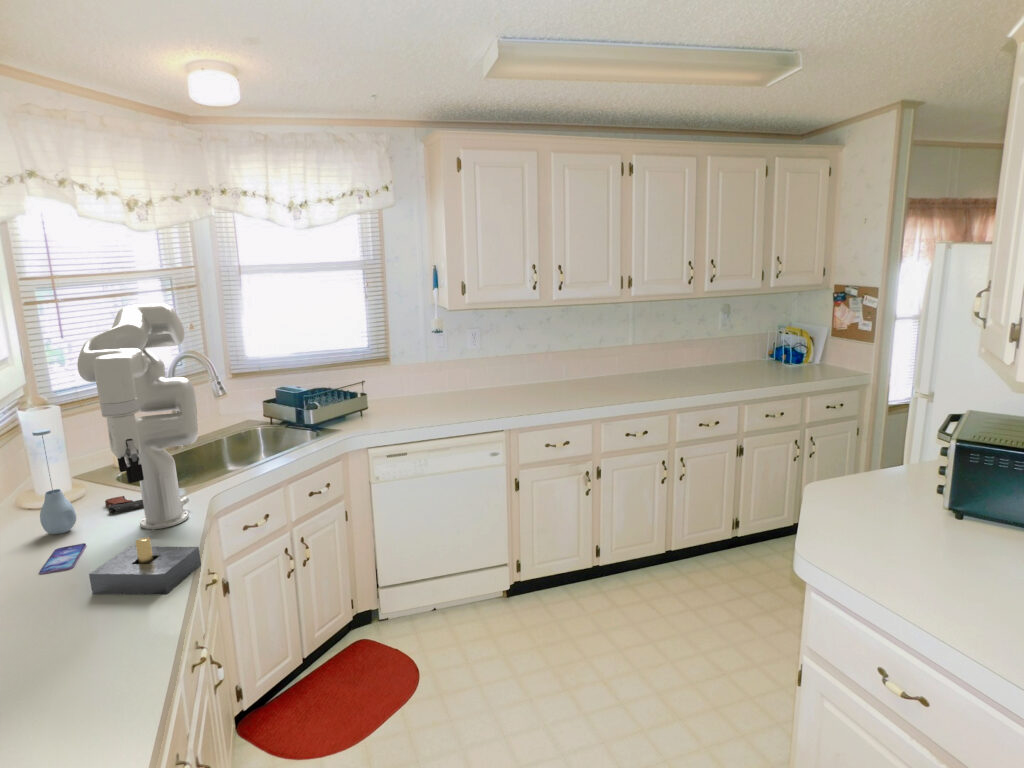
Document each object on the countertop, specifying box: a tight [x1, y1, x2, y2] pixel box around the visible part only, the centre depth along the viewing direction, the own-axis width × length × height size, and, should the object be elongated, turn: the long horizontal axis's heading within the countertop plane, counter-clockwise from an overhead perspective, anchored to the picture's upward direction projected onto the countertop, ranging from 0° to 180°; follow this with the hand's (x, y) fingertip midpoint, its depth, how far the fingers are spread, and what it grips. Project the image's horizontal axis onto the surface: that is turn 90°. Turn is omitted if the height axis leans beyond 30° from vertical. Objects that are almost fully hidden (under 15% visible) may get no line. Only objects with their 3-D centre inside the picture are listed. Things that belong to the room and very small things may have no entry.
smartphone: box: [38, 542, 87, 575], centre depth 165 cm, size 7×1×15 cm
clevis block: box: [88, 545, 202, 596], centre depth 152 cm, size 14×18×5 cm
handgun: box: [104, 495, 144, 515], centre depth 202 cm, size 16×3×12 cm
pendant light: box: [31, 428, 77, 535], centre depth 179 cm, size 8×8×30 cm
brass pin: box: [135, 536, 153, 564], centre depth 152 cm, size 3×3×10 cm
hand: (131, 475), depth 154 cm, fingers open, 9 cm apart
